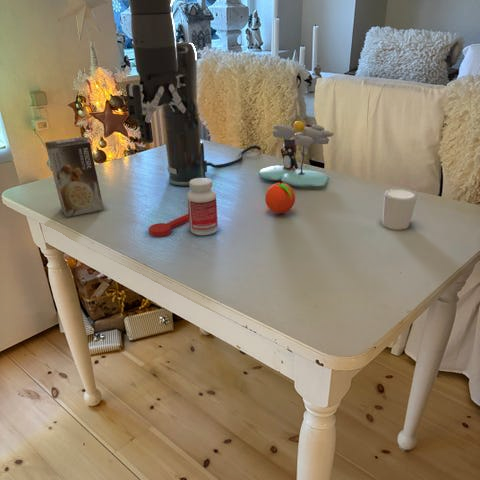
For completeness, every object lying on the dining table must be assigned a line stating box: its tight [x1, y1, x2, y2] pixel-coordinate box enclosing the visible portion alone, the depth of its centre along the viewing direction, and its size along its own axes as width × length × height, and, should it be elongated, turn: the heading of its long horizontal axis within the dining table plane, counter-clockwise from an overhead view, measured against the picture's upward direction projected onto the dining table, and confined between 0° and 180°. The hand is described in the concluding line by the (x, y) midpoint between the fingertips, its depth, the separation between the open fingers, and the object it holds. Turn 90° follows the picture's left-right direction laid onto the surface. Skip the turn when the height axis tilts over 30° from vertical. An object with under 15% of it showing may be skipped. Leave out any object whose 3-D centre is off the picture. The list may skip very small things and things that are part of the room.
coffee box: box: [44, 136, 105, 218], centre depth 115 cm, size 9×6×16 cm
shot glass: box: [382, 188, 418, 231], centre depth 107 cm, size 7×7×7 cm
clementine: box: [264, 182, 296, 214], centre depth 113 cm, size 8×7×7 cm
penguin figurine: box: [258, 120, 334, 189], centre depth 129 cm, size 20×11×15 cm, turn 53°
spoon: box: [148, 212, 189, 238], centre depth 111 cm, size 17×5×1 cm, turn 141°
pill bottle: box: [186, 177, 219, 236], centre depth 105 cm, size 6×6×11 cm
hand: (164, 137), depth 96 cm, fingers open, 8 cm apart
